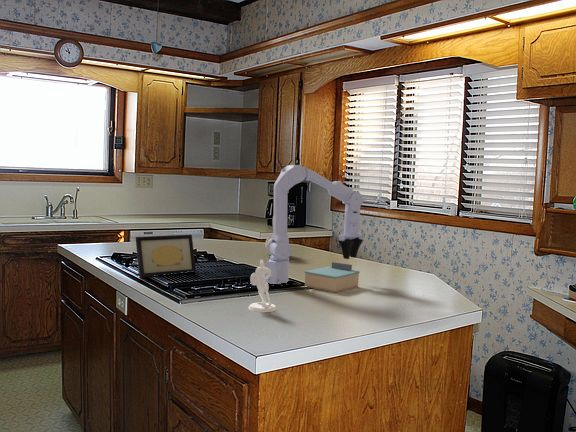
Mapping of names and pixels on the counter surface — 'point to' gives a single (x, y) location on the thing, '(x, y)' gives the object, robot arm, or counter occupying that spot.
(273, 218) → the headphones
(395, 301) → the counter surface
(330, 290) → the mailer box
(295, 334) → the counter surface
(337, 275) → the lid
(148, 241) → the picture frame
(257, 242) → the counter surface
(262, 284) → the figurine
